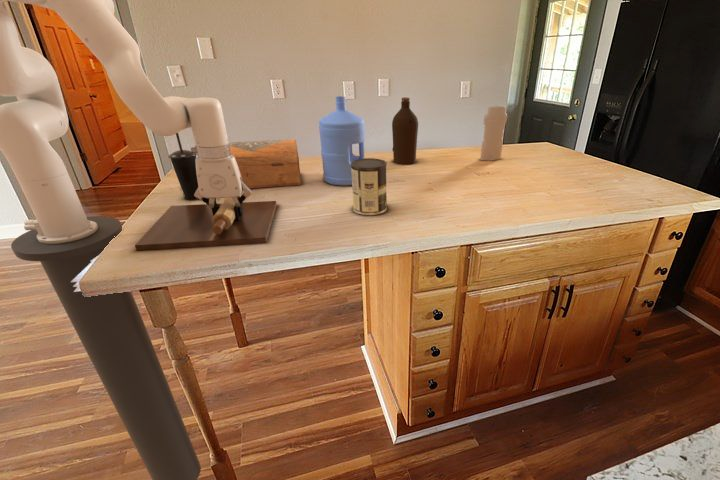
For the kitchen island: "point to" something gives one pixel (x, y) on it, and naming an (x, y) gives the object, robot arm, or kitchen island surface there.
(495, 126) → the tall pale column
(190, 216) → the pastry board
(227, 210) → the rolling pin
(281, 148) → the wooden box
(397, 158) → the olive oil
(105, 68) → the robot arm
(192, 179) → the drinking cup
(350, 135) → the water jug
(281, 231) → the kitchen island surface
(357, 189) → the coffee can
